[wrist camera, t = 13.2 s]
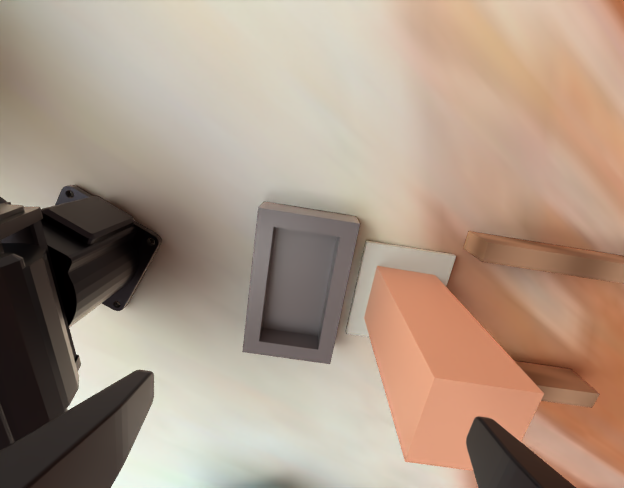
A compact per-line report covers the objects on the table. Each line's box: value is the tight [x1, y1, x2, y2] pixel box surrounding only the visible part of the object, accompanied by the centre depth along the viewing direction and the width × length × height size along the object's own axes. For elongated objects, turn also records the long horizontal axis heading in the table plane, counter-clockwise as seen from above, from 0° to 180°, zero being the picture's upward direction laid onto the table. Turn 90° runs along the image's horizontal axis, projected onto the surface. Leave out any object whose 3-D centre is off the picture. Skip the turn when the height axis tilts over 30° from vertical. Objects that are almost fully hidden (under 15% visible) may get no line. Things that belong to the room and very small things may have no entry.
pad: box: [346, 240, 456, 337], centre depth 22 cm, size 6×7×1 cm
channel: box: [463, 231, 624, 408], centre depth 21 cm, size 11×10×2 cm
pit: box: [243, 202, 360, 364], centre depth 21 cm, size 6×10×2 cm, turn 171°
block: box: [364, 266, 544, 471], centre depth 17 cm, size 4×4×10 cm
